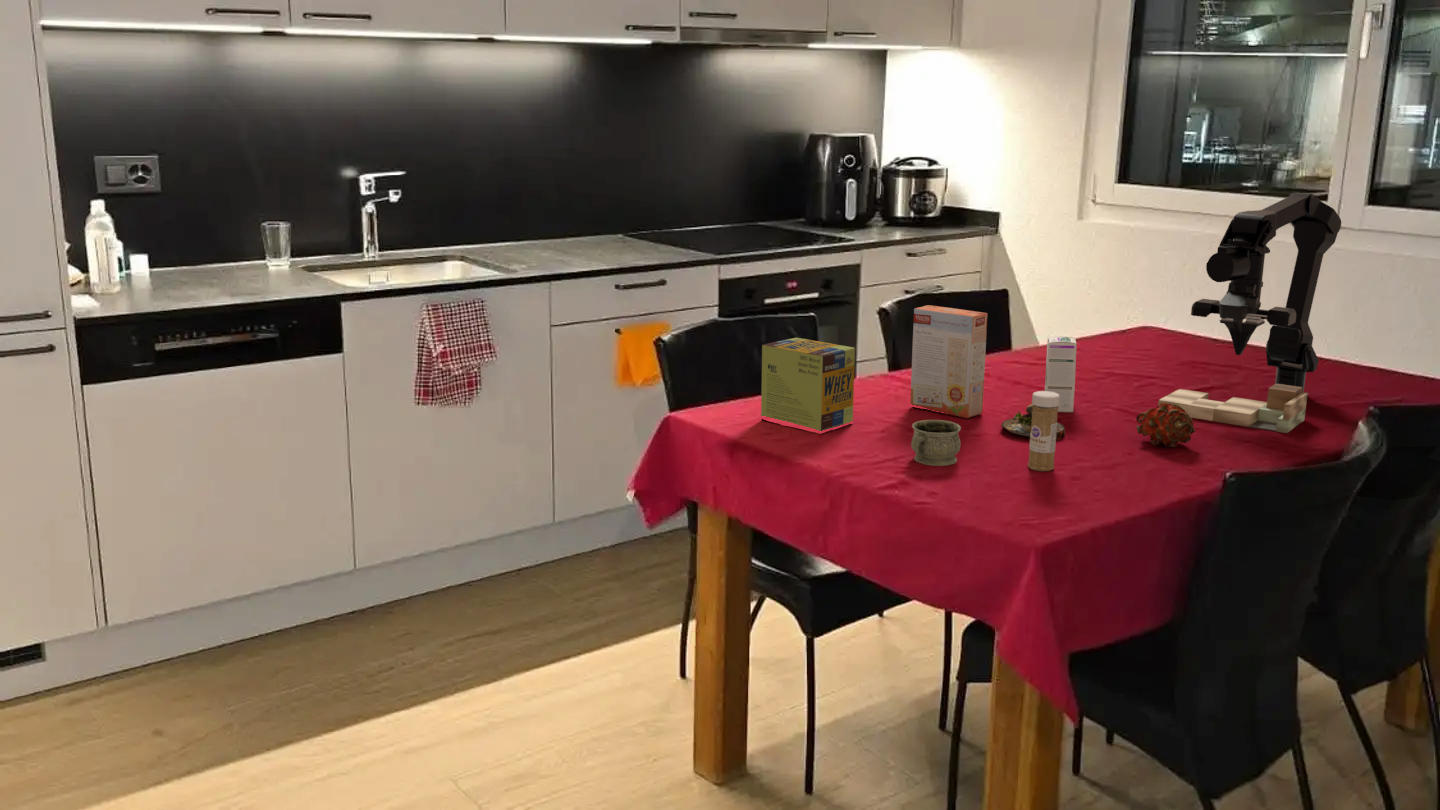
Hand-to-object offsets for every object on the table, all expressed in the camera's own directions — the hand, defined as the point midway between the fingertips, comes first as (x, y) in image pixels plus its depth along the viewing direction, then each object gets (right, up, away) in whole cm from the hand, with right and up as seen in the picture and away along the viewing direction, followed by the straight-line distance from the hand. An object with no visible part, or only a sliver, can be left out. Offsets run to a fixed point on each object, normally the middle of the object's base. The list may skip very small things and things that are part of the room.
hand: (1238, 354), depth 256 cm
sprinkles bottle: (-48, -21, -33) cm, 62 cm away
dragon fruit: (-22, -17, -18) cm, 33 cm away
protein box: (-87, -14, -4) cm, 88 cm away
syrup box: (-34, -11, +6) cm, 37 cm away
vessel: (-65, -20, -28) cm, 74 cm away
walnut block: (+8, -11, -3) cm, 13 cm away
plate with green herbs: (-44, -16, -11) cm, 48 cm away
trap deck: (-1, -12, 0) cm, 12 cm away
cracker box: (-58, -11, +4) cm, 59 cm away
